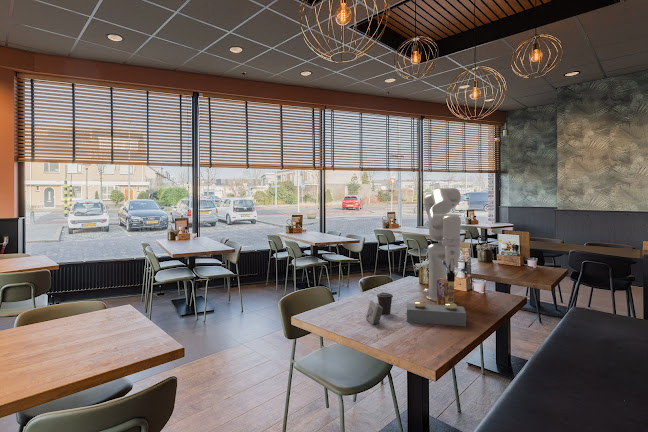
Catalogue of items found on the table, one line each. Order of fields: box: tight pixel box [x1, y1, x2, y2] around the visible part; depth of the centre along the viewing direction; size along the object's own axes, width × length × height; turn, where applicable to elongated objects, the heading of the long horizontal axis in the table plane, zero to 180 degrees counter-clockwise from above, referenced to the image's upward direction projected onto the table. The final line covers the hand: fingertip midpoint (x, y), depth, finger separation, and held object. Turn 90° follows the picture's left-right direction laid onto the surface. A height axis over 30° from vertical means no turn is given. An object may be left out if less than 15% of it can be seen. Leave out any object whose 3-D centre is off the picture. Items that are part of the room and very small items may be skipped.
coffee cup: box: [376, 292, 394, 316], centre depth 181 cm, size 8×8×10 cm
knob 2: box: [445, 303, 458, 310], centre depth 167 cm, size 5×5×6 cm
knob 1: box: [414, 300, 426, 308], centre depth 171 cm, size 5×5×6 cm
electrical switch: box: [365, 300, 383, 326], centre depth 169 cm, size 9×5×9 cm, turn 10°
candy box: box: [436, 278, 455, 305], centre depth 186 cm, size 9×4×15 cm, turn 20°
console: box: [406, 302, 467, 327], centre depth 169 cm, size 26×10×6 cm, turn 76°
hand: (450, 281), depth 167 cm, fingers closed
